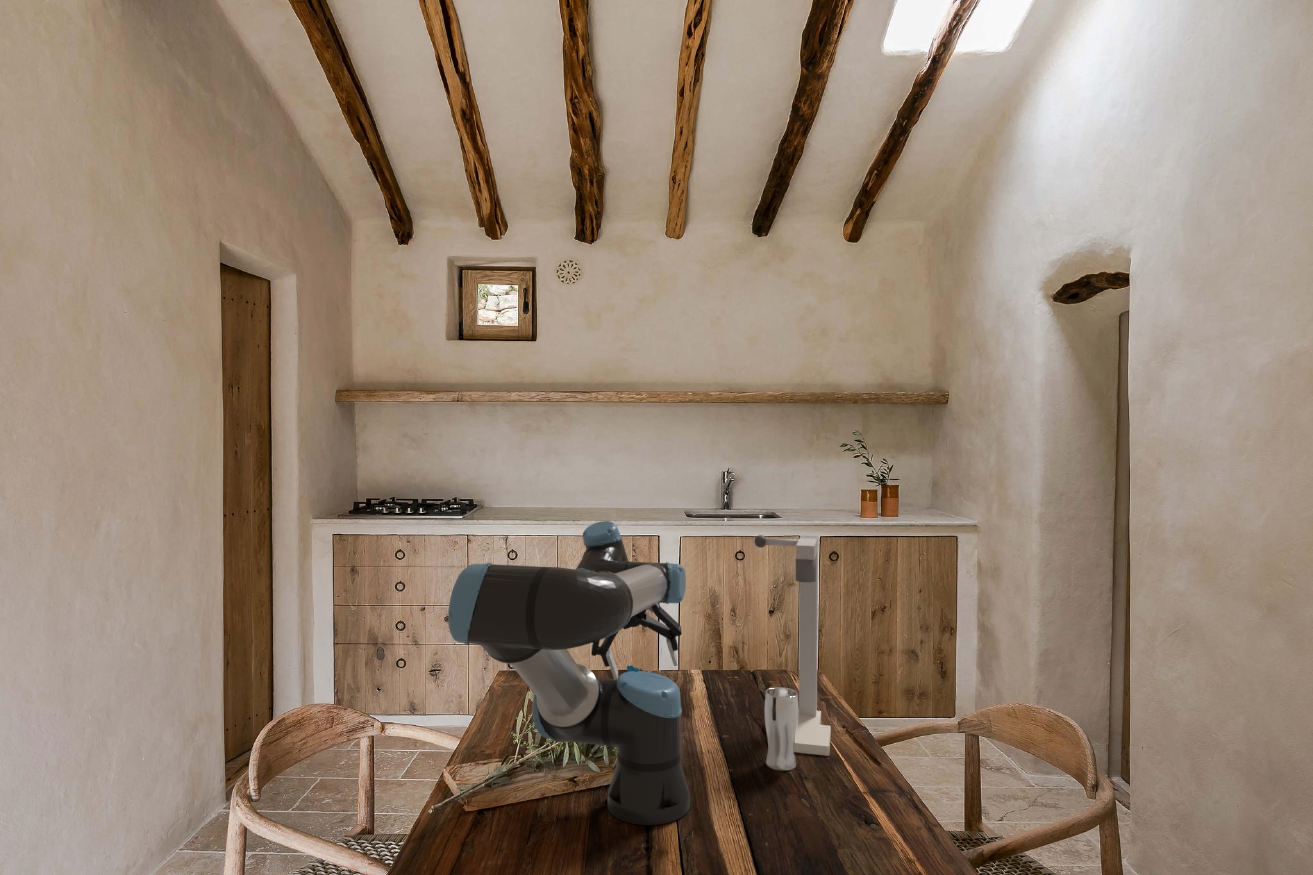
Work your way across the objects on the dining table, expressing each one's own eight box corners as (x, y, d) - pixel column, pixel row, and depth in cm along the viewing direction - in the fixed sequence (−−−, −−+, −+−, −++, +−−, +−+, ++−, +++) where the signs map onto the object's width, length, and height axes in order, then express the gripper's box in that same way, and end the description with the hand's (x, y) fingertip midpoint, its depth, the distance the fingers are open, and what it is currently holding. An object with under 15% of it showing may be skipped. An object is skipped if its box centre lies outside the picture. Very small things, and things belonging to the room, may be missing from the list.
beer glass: (761, 769, 156) (762, 695, 156) (766, 755, 163) (767, 685, 163) (796, 773, 154) (796, 699, 154) (800, 759, 161) (800, 688, 161)
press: (829, 755, 163) (830, 549, 163) (742, 746, 168) (743, 545, 167) (831, 720, 183) (832, 536, 183) (754, 712, 188) (755, 533, 188)
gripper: (675, 566, 165) (699, 645, 172) (564, 593, 167) (592, 670, 174) (677, 585, 158) (701, 667, 165) (561, 613, 160) (590, 692, 167)
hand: (645, 668), depth 170 cm, fingers open, 13 cm apart
